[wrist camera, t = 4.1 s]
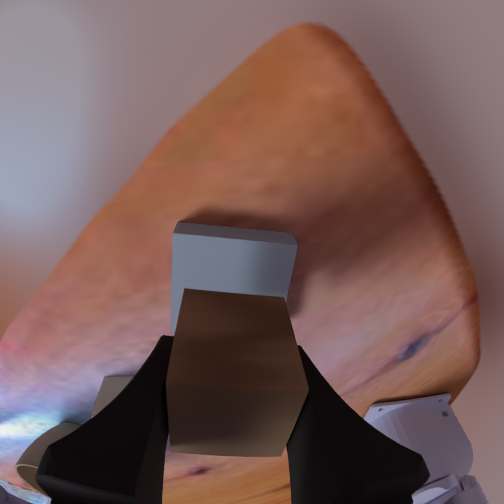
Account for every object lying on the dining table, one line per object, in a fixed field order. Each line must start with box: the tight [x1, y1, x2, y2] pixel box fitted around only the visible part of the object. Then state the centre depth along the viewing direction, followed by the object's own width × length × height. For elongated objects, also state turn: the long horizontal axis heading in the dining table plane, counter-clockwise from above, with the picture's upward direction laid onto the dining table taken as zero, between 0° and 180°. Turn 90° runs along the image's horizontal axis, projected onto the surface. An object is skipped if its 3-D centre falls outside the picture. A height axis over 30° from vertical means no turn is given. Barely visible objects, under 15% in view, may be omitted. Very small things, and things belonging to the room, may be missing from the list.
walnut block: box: [166, 288, 309, 457], centre depth 11 cm, size 4×4×5 cm
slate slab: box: [171, 222, 298, 333], centre depth 18 cm, size 6×6×2 cm
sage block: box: [91, 376, 134, 418], centre depth 20 cm, size 4×4×4 cm
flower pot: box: [15, 422, 81, 499], centre depth 22 cm, size 10×10×7 cm
